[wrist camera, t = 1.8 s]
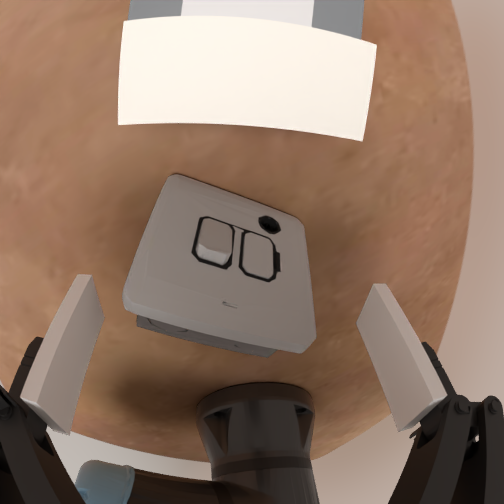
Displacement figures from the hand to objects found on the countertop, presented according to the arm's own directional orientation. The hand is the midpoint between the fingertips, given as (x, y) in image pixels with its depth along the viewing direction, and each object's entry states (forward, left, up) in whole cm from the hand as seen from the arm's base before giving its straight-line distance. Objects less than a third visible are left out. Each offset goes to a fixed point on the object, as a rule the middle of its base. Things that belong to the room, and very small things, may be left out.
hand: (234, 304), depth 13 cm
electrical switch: (0, 0, -8) cm, 8 cm away
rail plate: (+19, 0, -8) cm, 20 cm away
